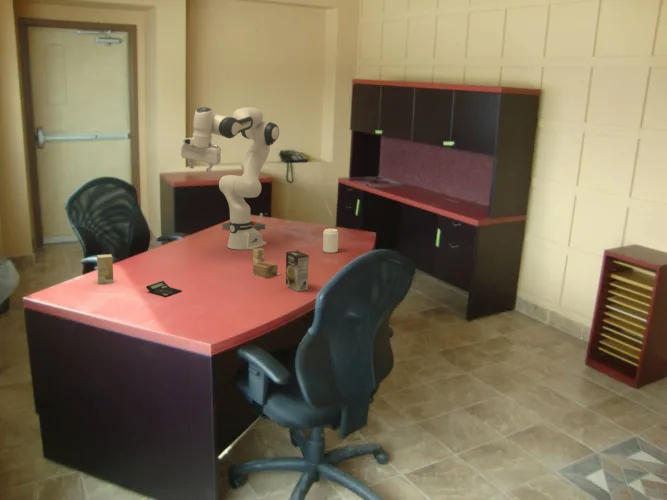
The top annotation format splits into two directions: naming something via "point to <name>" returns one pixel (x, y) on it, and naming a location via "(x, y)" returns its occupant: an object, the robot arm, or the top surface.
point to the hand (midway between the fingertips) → (200, 170)
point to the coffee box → (297, 270)
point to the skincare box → (105, 268)
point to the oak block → (258, 255)
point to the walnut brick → (265, 269)
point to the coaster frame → (257, 226)
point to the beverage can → (330, 240)
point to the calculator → (162, 289)
